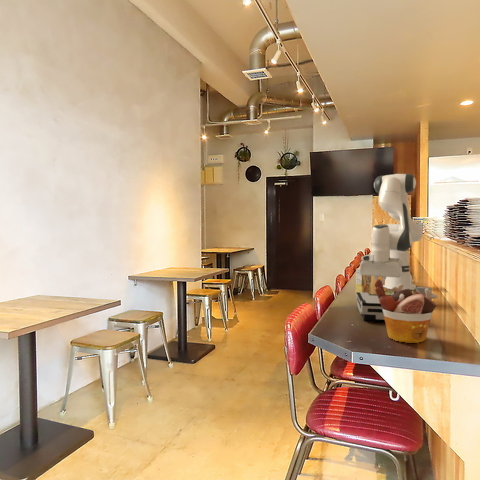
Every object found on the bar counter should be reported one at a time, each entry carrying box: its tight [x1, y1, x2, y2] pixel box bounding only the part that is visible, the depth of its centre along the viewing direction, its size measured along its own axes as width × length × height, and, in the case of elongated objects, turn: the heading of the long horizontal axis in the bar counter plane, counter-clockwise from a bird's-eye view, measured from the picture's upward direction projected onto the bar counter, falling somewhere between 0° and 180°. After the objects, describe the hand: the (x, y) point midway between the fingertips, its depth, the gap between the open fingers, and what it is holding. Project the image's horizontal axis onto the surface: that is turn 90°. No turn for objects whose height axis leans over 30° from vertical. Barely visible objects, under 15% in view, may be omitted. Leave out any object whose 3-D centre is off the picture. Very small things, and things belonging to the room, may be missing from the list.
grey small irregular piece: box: [415, 286, 433, 301], centre depth 191 cm, size 7×7×8 cm
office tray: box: [355, 291, 393, 323], centre depth 169 cm, size 21×32×8 cm, turn 168°
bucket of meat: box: [374, 278, 439, 344], centre depth 133 cm, size 20×16×20 cm
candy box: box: [355, 267, 372, 294], centre depth 213 cm, size 9×4×15 cm, turn 129°
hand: (380, 285), depth 195 cm, fingers closed
